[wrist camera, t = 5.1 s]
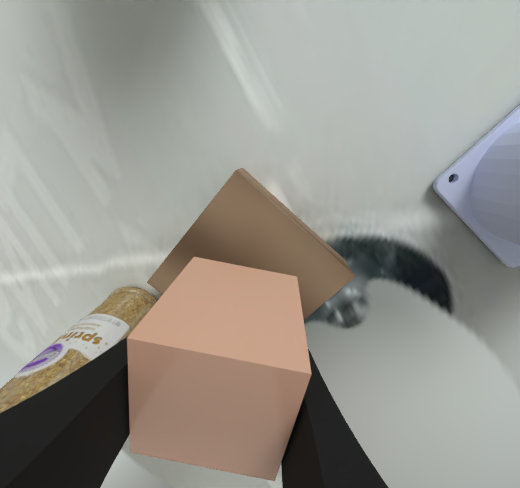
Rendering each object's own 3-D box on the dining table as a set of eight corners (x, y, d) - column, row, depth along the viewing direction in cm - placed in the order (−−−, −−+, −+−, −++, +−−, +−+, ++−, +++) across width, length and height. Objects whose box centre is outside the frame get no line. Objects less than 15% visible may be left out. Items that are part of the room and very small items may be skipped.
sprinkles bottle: (137, 274, 18) (-190, 547, 5) (176, 317, 19) (-20, 628, 7) (97, 302, 19) (-249, 579, 7) (137, 341, 20) (-96, 643, 8)
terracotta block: (194, 256, 11) (127, 338, 6) (297, 276, 11) (311, 373, 6) (186, 338, 12) (130, 452, 8) (276, 355, 12) (274, 480, 8)
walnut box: (243, 167, 15) (235, 170, 12) (342, 256, 17) (355, 276, 14) (167, 262, 18) (146, 282, 15) (258, 331, 20) (254, 361, 17)
